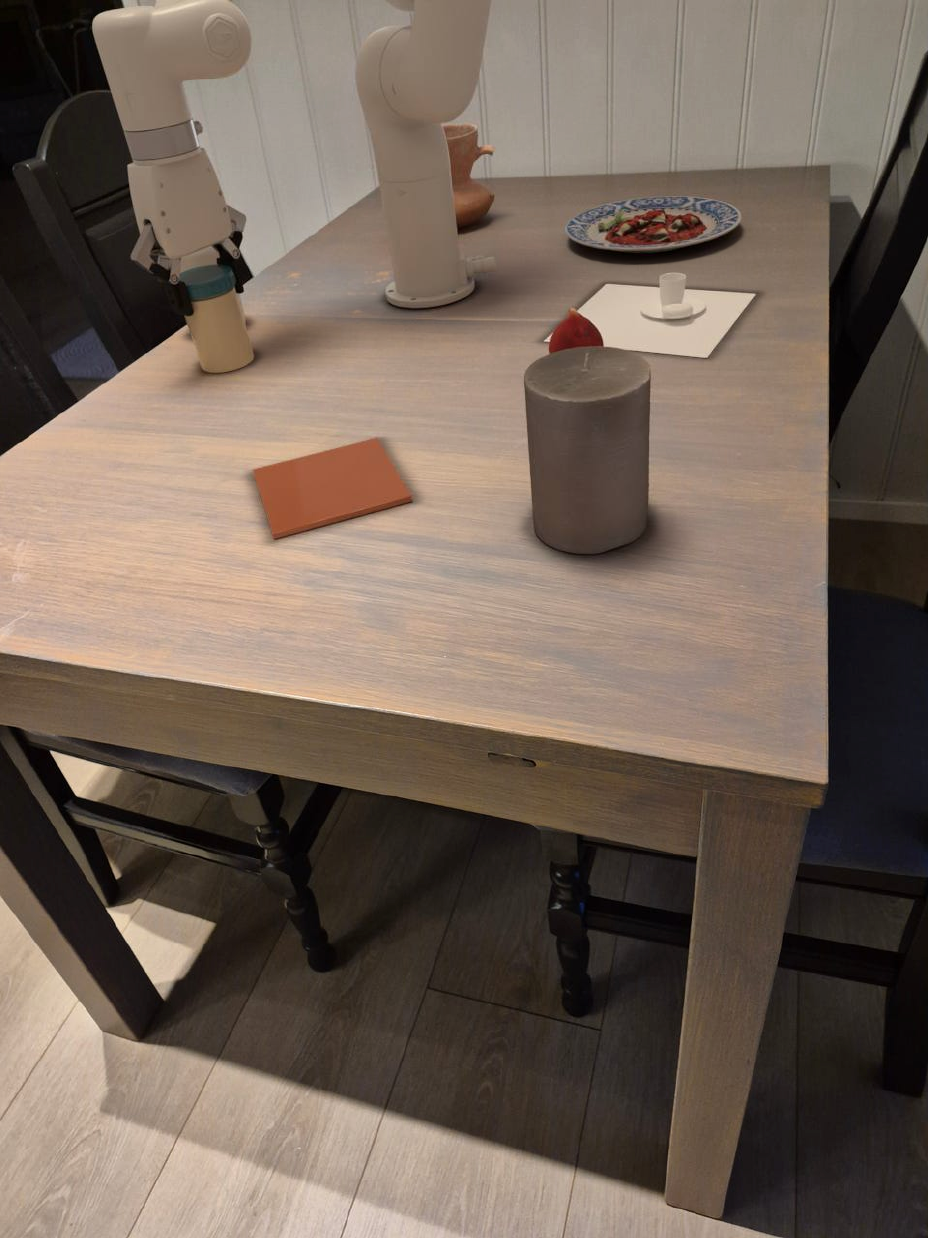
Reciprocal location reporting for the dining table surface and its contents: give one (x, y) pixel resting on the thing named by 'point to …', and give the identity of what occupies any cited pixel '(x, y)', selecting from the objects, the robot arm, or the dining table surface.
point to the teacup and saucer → (663, 316)
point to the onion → (575, 333)
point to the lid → (208, 280)
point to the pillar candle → (588, 447)
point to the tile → (329, 487)
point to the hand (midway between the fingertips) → (209, 301)
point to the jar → (220, 333)
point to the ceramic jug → (467, 173)
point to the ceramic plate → (653, 223)
